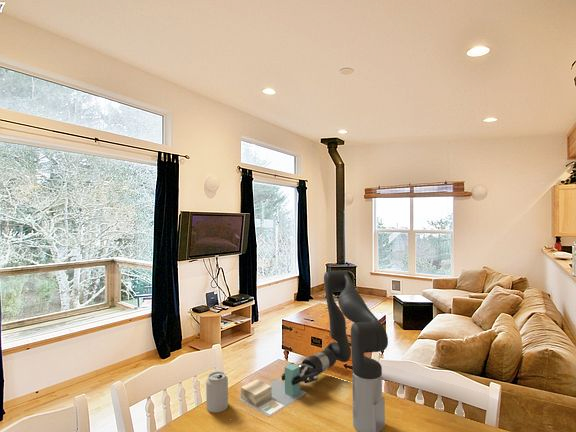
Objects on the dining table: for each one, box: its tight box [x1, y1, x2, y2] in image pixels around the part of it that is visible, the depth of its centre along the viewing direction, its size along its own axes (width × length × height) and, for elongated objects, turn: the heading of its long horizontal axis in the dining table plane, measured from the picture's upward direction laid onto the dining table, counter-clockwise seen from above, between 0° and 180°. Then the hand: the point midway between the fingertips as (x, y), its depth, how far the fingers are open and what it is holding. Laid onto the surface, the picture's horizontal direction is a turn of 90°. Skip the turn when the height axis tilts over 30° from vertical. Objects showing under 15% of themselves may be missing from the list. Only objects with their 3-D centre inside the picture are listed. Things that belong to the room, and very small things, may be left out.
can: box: [205, 371, 229, 414], centre depth 119 cm, size 8×8×12 cm
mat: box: [238, 378, 308, 418], centre depth 125 cm, size 16×20×1 cm
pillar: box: [284, 363, 301, 397], centre depth 127 cm, size 4×4×10 cm
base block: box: [240, 379, 272, 406], centre depth 124 cm, size 8×8×4 cm
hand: (287, 380), depth 125 cm, fingers open, 4 cm apart
